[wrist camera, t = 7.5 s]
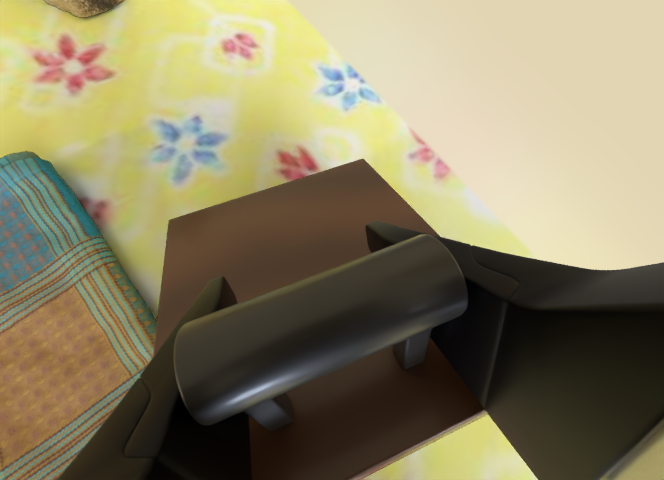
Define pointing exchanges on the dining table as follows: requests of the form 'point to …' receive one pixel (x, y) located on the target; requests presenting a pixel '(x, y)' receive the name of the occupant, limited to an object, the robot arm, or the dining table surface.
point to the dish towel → (59, 323)
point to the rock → (84, 6)
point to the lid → (317, 326)
